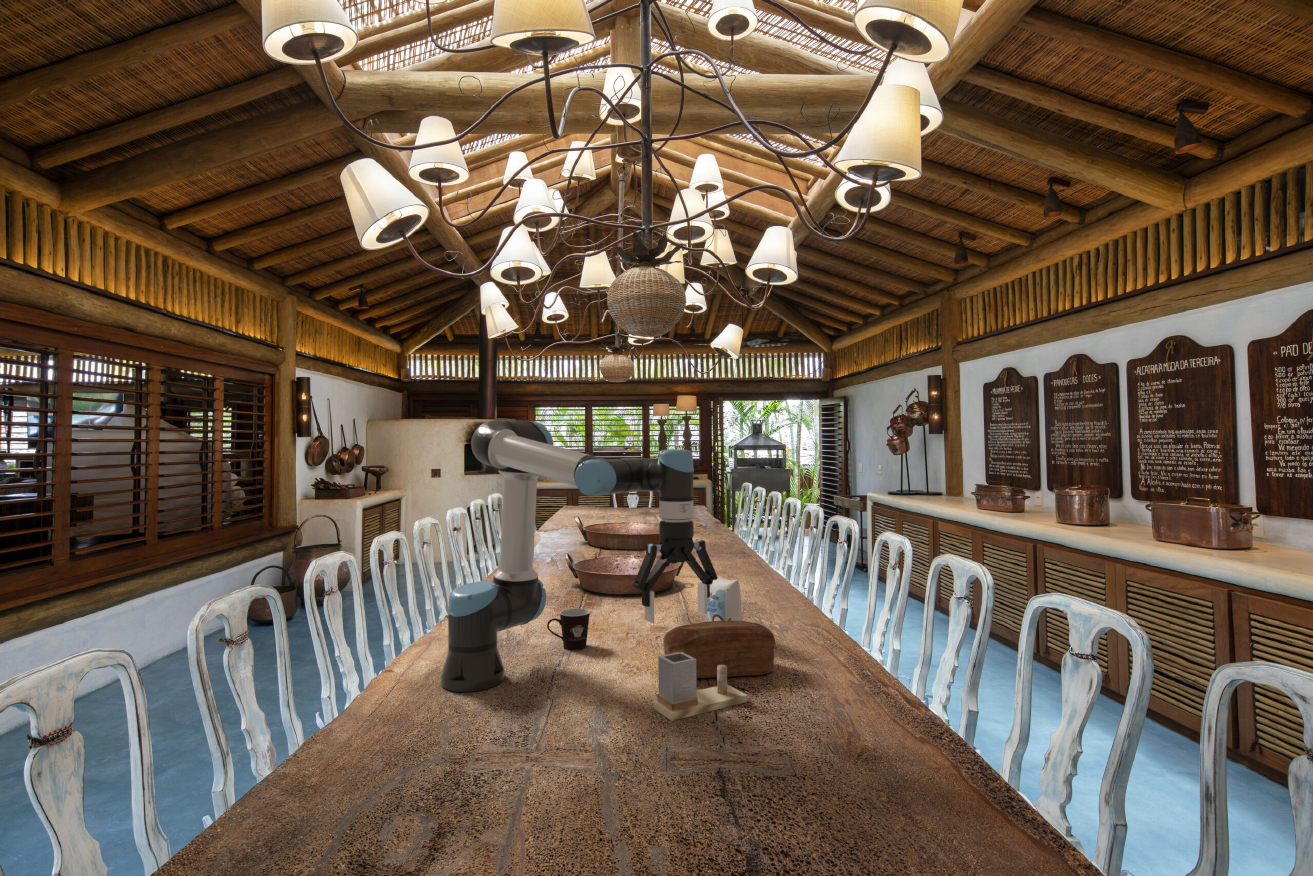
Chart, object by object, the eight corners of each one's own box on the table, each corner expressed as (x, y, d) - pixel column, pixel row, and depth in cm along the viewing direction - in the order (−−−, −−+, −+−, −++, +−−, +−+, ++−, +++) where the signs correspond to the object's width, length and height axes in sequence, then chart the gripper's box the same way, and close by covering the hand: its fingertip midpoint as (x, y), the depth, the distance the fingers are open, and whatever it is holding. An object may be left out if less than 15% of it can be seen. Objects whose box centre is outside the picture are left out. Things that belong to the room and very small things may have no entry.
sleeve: (672, 711, 138) (672, 664, 138) (657, 701, 144) (657, 656, 144) (697, 705, 141) (697, 659, 142) (682, 695, 147) (681, 651, 147)
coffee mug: (592, 642, 192) (592, 608, 192) (586, 652, 183) (586, 616, 183) (553, 642, 193) (553, 608, 193) (546, 651, 184) (545, 615, 184)
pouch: (720, 630, 203) (720, 566, 203) (749, 648, 185) (749, 578, 185) (697, 633, 200) (696, 568, 201) (724, 652, 183) (723, 580, 183)
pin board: (671, 721, 137) (671, 685, 137) (652, 707, 144) (652, 673, 144) (747, 701, 147) (746, 668, 147) (726, 690, 154) (725, 658, 154)
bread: (781, 678, 162) (780, 628, 162) (670, 685, 158) (669, 635, 158) (763, 660, 176) (762, 614, 176) (660, 666, 171) (660, 619, 172)
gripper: (634, 525, 134) (634, 629, 133) (732, 518, 146) (732, 613, 146) (617, 521, 140) (618, 620, 140) (713, 515, 153) (713, 605, 152)
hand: (676, 617), depth 143 cm, fingers open, 13 cm apart
